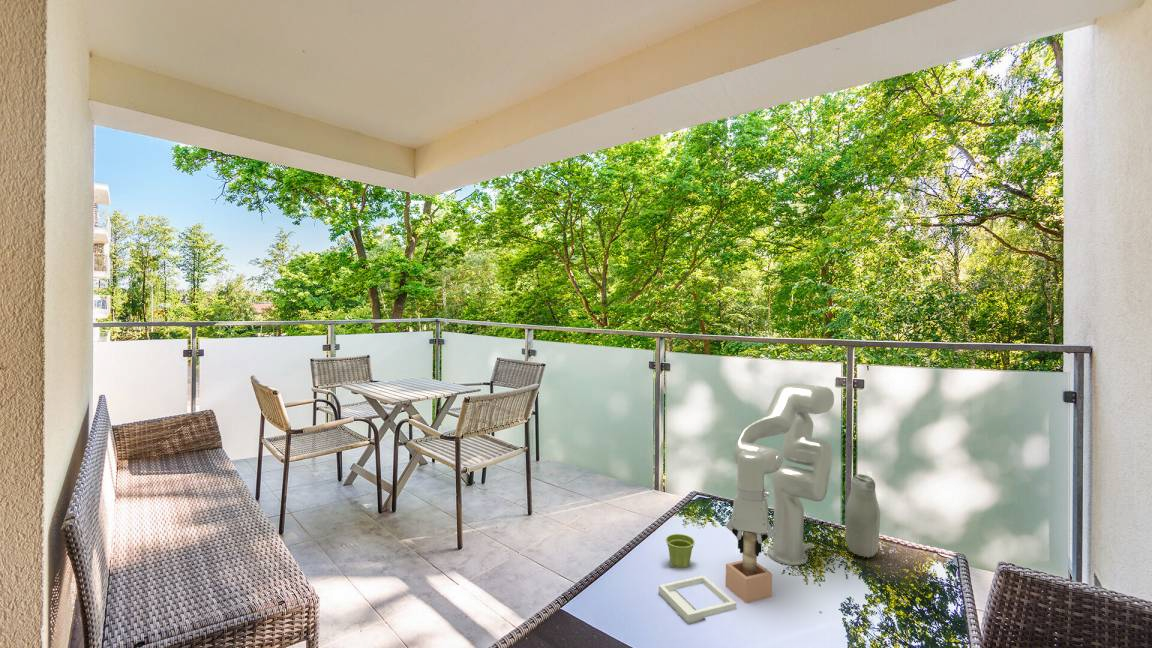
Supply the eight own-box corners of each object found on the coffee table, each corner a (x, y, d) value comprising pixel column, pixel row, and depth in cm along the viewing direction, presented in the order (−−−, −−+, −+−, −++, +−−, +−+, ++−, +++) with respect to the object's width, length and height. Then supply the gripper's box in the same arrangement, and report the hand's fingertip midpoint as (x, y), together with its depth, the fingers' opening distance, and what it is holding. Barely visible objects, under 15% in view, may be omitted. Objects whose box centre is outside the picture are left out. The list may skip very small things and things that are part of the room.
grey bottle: (883, 556, 184) (886, 476, 182) (867, 564, 178) (870, 482, 176) (854, 545, 192) (857, 469, 190) (839, 553, 186) (841, 474, 184)
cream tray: (703, 583, 166) (703, 575, 166) (736, 611, 151) (736, 603, 151) (658, 593, 160) (658, 585, 160) (688, 624, 146) (688, 615, 145)
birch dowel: (750, 571, 163) (750, 526, 162) (759, 577, 159) (759, 532, 158) (739, 573, 161) (740, 528, 160) (748, 580, 158) (748, 534, 157)
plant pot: (694, 574, 172) (695, 548, 171) (665, 571, 173) (665, 545, 173) (694, 560, 181) (694, 535, 180) (666, 557, 183) (666, 532, 182)
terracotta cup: (750, 583, 166) (751, 558, 166) (771, 599, 157) (772, 573, 157) (725, 589, 163) (725, 563, 162) (745, 606, 154) (746, 579, 154)
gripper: (781, 493, 159) (780, 552, 160) (723, 484, 165) (722, 542, 167) (779, 502, 152) (778, 564, 153) (719, 493, 158) (719, 553, 160)
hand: (749, 552), depth 160 cm, fingers closed on birch dowel, 4 cm apart
